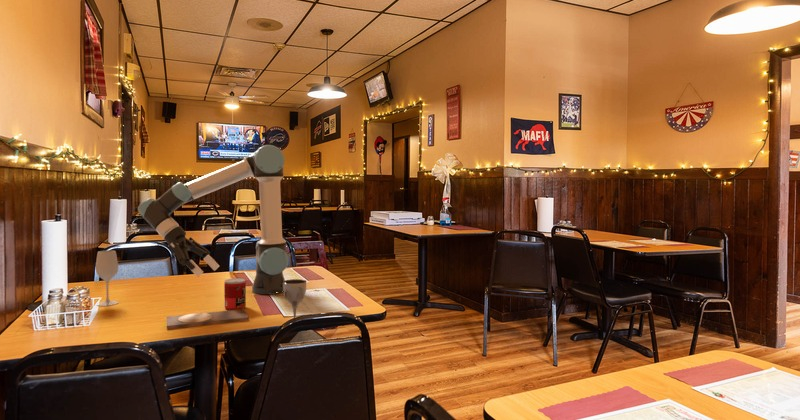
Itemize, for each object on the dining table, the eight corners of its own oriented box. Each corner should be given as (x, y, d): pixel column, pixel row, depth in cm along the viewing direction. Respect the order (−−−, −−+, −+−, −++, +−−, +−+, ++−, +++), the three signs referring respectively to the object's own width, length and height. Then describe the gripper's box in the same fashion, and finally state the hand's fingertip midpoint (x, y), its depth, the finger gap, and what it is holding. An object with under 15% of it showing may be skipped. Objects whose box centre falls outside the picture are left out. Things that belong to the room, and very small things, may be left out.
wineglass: (123, 302, 190) (122, 251, 189) (104, 307, 184) (103, 253, 182) (110, 300, 194) (109, 249, 192) (91, 304, 187) (90, 251, 186)
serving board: (243, 312, 179) (243, 308, 179) (248, 320, 169) (248, 316, 169) (166, 320, 168) (166, 315, 168) (166, 329, 157) (166, 325, 157)
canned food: (239, 311, 181) (239, 282, 180) (220, 309, 182) (220, 281, 182) (249, 306, 188) (249, 278, 188) (231, 305, 190) (231, 277, 189)
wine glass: (310, 322, 168) (310, 280, 167) (298, 328, 160) (298, 284, 160) (290, 319, 171) (291, 278, 170) (278, 325, 163) (278, 282, 162)
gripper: (181, 235, 198) (217, 272, 198) (146, 242, 173) (186, 284, 173) (194, 223, 197) (229, 259, 197) (159, 228, 172) (200, 270, 172)
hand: (209, 271), depth 185 cm, fingers open, 13 cm apart
